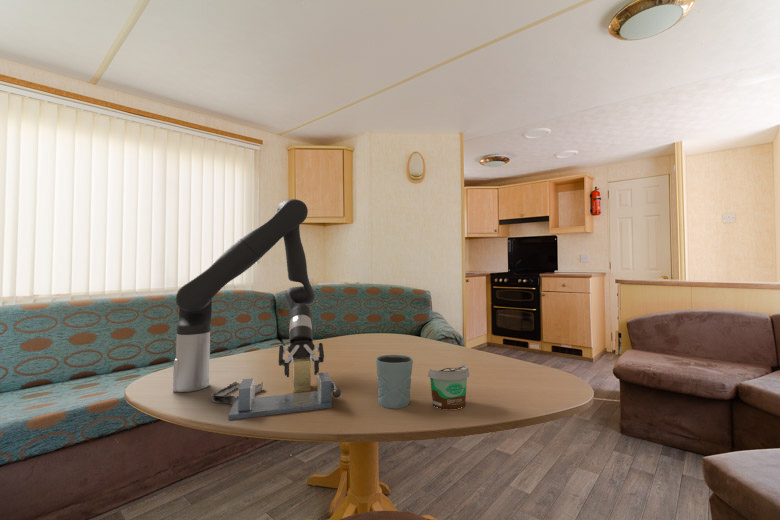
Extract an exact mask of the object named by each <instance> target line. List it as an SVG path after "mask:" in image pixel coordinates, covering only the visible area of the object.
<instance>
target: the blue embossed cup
mask: <svg viewBox="0 0 780 520" xmlns="http://www.w3.org/2000/svg"><path fill="white" fill-rule="evenodd" d="M375 362H376V363H375V365H376V374H377V378H376V380H377V381H376V382H377V389H378V391H377V397H378V400H377V401H378V405H379V406H381V407H383V408H386V409H391V410H392V409H403V408H406V407H407V406H409V405H408V404H410V400H411V399H410V398H411V391H410V390H411V386H412V385H411V383H412V375H413V374H412V372H413V362H414V360H413V357H411V356H407V355H403V354H386V355H385V354H384V355H380V356H377V357H376V358H375ZM405 406H406V407H405Z"/></svg>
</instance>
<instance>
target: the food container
mask: <svg viewBox="0 0 780 520" xmlns="http://www.w3.org/2000/svg"><path fill="white" fill-rule="evenodd" d="M427 373H428V374H427V377H428V378H430V379H429V380H430V389H431V399H432V406H435V407H438V408H441V409H440V410H443V409H458V408H461V407H463V406H464V405H465V406H466V398H467V397H466V396H467V383H468V382H467V381H468V378H469V377H470V376H471V375H470V370H469V368H468V365H466V364H465V363H462V365H461V366H459V367H445V368H443V369H440V370H437V369H436V370H435V369H432V368H429V371H428V372H427ZM435 407H434V408H435ZM438 408H437V409H438ZM463 408H464V407H463ZM458 410H459V409H458Z"/></svg>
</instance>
